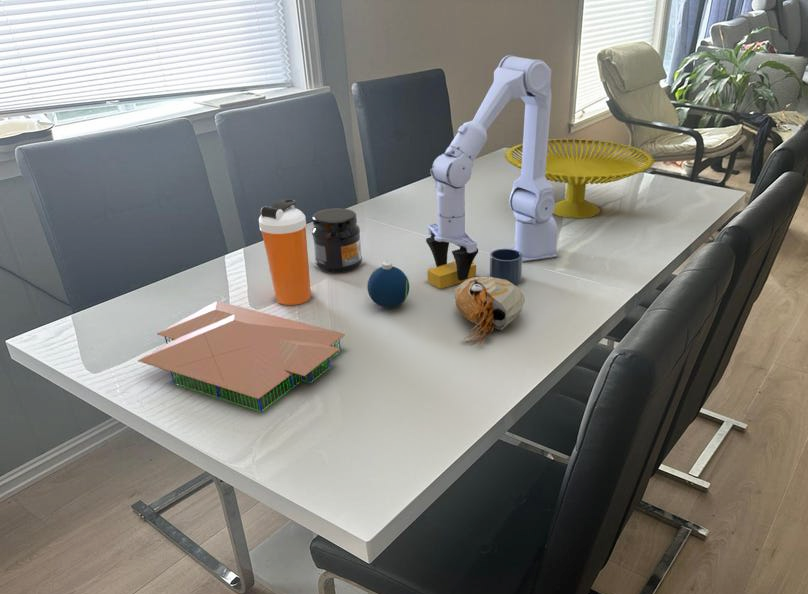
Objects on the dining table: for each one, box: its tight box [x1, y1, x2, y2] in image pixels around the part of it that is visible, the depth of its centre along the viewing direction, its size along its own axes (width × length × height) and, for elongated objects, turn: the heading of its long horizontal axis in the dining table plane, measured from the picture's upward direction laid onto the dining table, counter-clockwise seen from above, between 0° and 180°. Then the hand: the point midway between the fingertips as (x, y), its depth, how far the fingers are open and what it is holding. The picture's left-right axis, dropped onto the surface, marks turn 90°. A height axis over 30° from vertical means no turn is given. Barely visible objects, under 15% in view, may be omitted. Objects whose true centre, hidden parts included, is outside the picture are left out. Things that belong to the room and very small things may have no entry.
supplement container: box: [311, 207, 363, 274], centre depth 155 cm, size 10×10×12 cm
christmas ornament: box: [366, 260, 410, 309], centre depth 138 cm, size 8×8×10 cm
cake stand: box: [504, 138, 655, 219], centre depth 189 cm, size 40×40×15 cm
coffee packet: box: [427, 261, 477, 290], centre depth 151 cm, size 10×4×3 cm, turn 130°
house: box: [137, 300, 346, 413], centre depth 119 cm, size 23×33×8 cm
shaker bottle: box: [258, 198, 312, 306], centre depth 138 cm, size 9×9×20 cm
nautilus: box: [453, 276, 526, 347], centre depth 132 cm, size 8×22×15 cm
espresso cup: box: [488, 248, 523, 286], centre depth 150 cm, size 7×7×6 cm
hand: (452, 273), depth 151 cm, fingers open, 7 cm apart
